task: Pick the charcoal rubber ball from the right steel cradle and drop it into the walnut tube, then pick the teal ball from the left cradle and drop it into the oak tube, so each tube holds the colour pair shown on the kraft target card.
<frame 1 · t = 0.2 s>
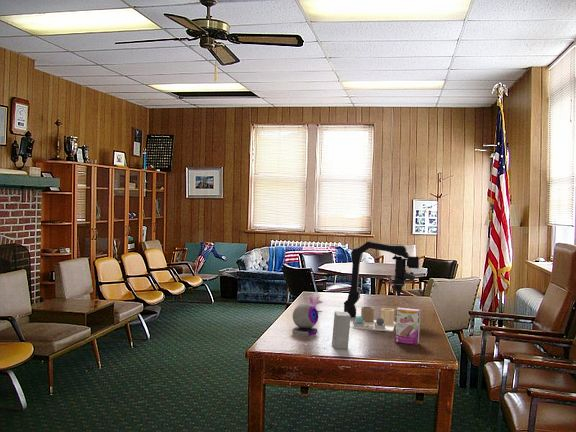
hand: (399, 294, 336), 15 cm above the table, fingers open, 9 cm apart
candy bar box: (406, 343, 285), on the table
teal ball in tube: (387, 319, 327), point 3 cm above the table, touching board
eyeball: (304, 333, 300), on the table
skincare box: (340, 347, 274), on the table
board: (374, 325, 321), on the table
charcoal ball: (380, 321, 312), point 4 cm above the table, touching board
charcoal ball in tube: (367, 317, 329), point 3 cm above the table, touching board
lily: (312, 311, 357), on the table
teal ball: (359, 319, 315), point 4 cm above the table, touching board
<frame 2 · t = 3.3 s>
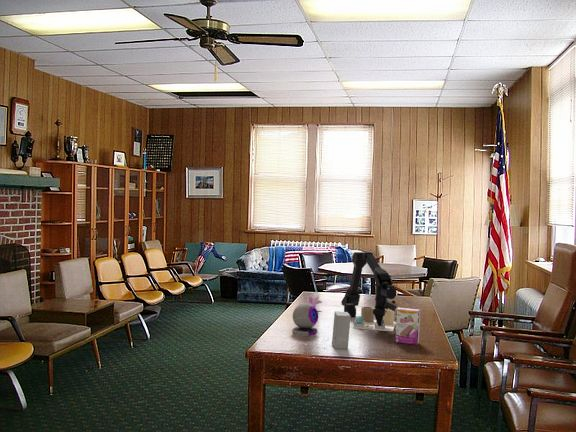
hand: (380, 325, 312), 2 cm above the table, fingers closed on charcoal ball, 4 cm apart
charcoal ball: (380, 321, 312), point 4 cm above the table, touching board, gripper
everything else where it was.
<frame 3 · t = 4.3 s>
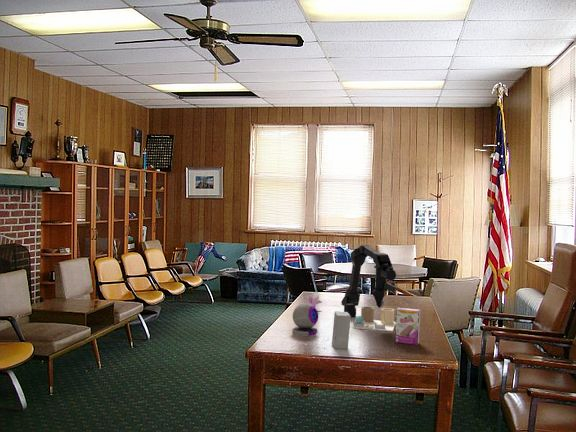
hand: (379, 306, 313), 12 cm above the table, fingers closed on charcoal ball, 4 cm apart
charcoal ball: (379, 303, 313), point 14 cm above the table, touching gripper
everything else where it was.
when the fingers open (8 cm above the table, at t = 5.8 s): charcoal ball drops 4 cm and tips over, resting on board, charcoal ball in tube.
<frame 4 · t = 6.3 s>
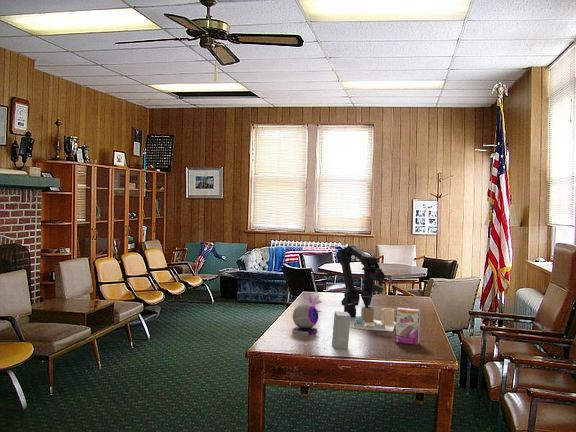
hand: (367, 306, 329), 8 cm above the table, fingers open, 9 cm apart
charcoal ball: (367, 310, 328), point 6 cm above the table, tilted 35°, touching board, charcoal ball in tube
charcoal ball in tube: (367, 317, 330), point 3 cm above the table, tilted 9°, touching board, charcoal ball
everything else where it was.
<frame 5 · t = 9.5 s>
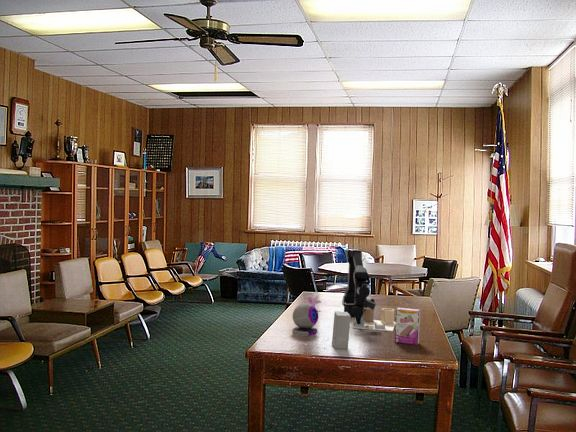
hand: (359, 323, 315), 2 cm above the table, fingers closed on teal ball, 4 cm apart
teal ball: (359, 319, 315), point 4 cm above the table, touching board, gripper
everything else where it was.
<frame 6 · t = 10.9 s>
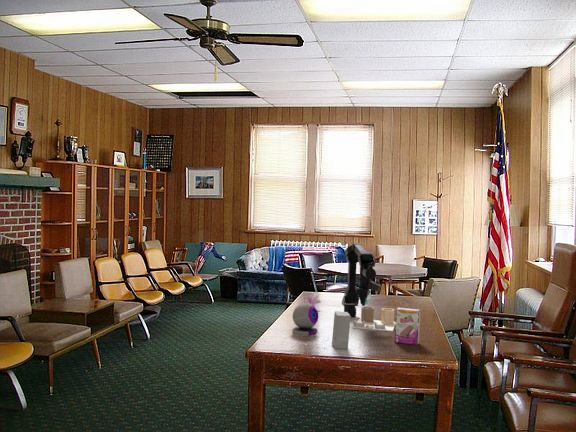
hand: (363, 305, 317), 12 cm above the table, fingers closed on teal ball, 4 cm apart
teal ball: (363, 301, 317), point 14 cm above the table, touching gripper
when the fingers open (8 cm above the table, at t = 12.4 s): teal ball drops 4 cm and tips over, resting on board, teal ball in tube.
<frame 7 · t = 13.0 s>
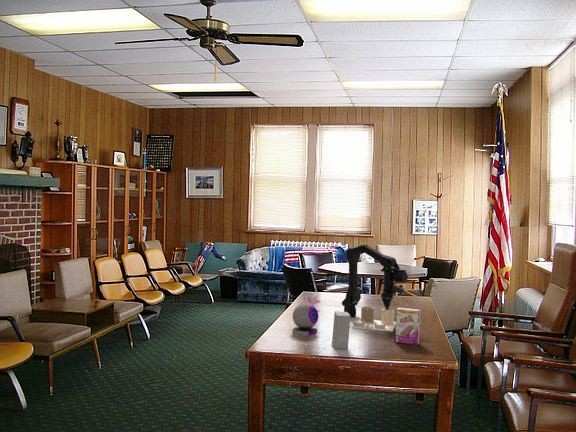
hand: (387, 308, 326), 8 cm above the table, fingers open, 9 cm apart
teal ball in tube: (387, 318, 327), point 3 cm above the table, tilted 9°, touching board, teal ball
teal ball: (388, 312, 326), point 6 cm above the table, tilted 33°, touching board, teal ball in tube
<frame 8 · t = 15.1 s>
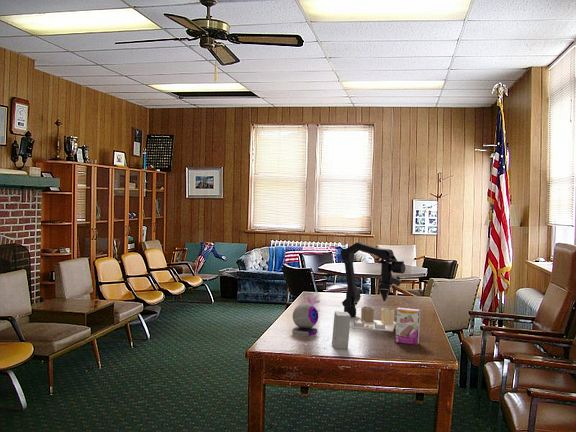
hand: (385, 299, 331), 12 cm above the table, fingers open, 9 cm apart
at the end: charcoal ball 0.6 cm from the target spot, point 6.4 cm above the table; teal ball 0.6 cm from the target spot, point 6.4 cm above the table; the gripper is holding nothing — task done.
